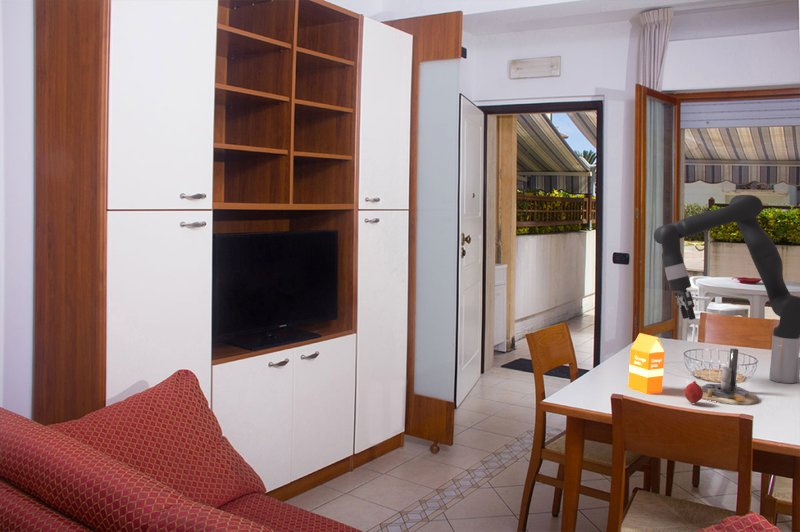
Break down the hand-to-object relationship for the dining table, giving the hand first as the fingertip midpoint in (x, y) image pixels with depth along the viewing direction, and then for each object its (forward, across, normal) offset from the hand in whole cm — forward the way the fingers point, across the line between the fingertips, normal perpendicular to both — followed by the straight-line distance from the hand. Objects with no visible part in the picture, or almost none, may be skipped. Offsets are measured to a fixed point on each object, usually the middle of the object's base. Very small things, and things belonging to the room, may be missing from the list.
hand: (689, 318), depth 268 cm
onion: (+25, -27, +13) cm, 39 cm away
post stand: (+28, -15, -1) cm, 31 cm away
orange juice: (+20, -12, +25) cm, 34 cm away
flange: (+27, -16, -2) cm, 31 cm away
